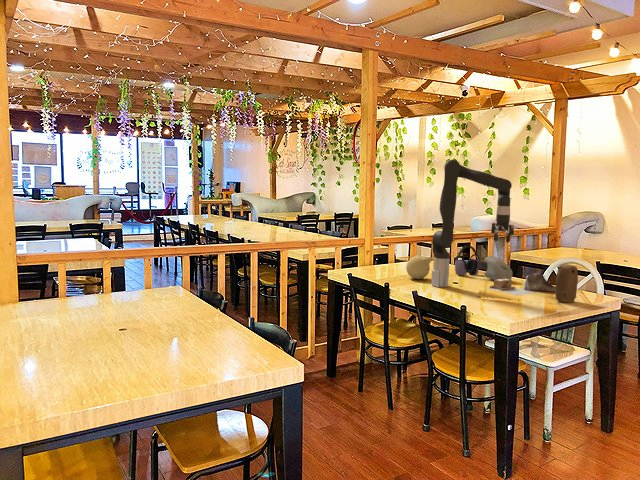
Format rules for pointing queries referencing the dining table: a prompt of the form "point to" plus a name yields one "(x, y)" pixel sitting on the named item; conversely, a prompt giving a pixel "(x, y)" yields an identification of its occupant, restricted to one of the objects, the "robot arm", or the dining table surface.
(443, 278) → the robot arm
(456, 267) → the headphones
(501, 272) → the decorative stone
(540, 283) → the shoe
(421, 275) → the toy
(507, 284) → the reddish brown block
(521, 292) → the panel
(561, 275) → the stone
